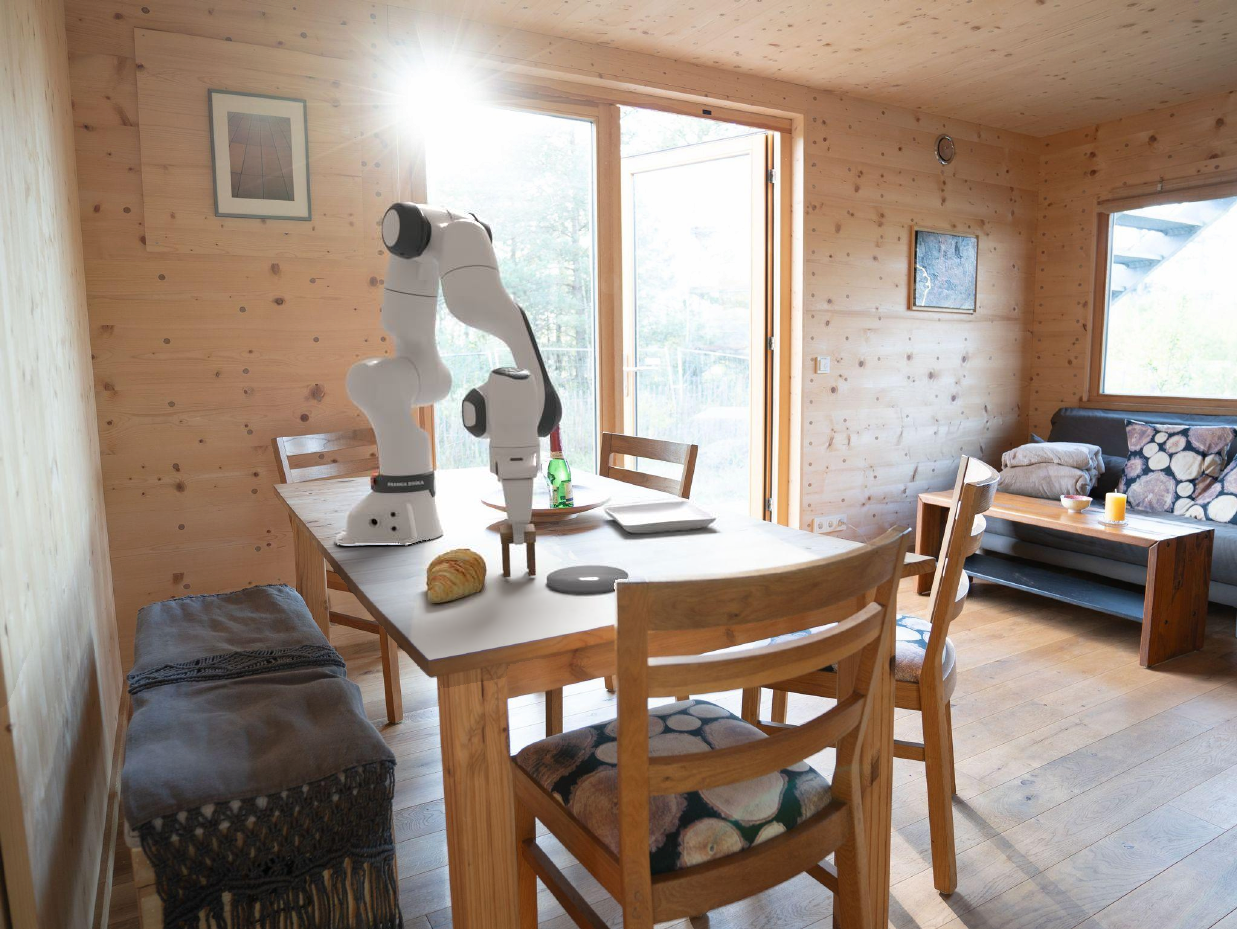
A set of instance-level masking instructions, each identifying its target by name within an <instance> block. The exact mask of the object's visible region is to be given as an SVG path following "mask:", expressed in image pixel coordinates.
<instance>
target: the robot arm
mask: <svg viewBox="0 0 1237 929" xmlns="http://www.w3.org/2000/svg"><path fill="white" fill-rule="evenodd" d="M381 238H382V239H381V240H382V242H383V244H384V246H385V248H386V249H387V251H388V253H390V255H389V258H388V262H387V267H386V271H385V277H384V285H383V292H382V294H383V295H382V300H381V301H382V302H381V311H380V319H379V320H380V326H381V328H382V330H383V331H384V332H385V333H386V334H387V335H388V336H390V337H391V339H392V342H393V344H394V356H390V357H389V356H388V357H387V356H386V357H372V358H368V359H365V360H364V359H363V360H361V361H358V362H355V363H354V364H352V366H350V368H349V370H348V372H347V373H346V377H345V391H346V393H347V396H348V398H349V400H350V402H351V403H352V404H353V405H354V406H356V407H358V409H360V410H361V411H362V412H363V414H365V416H366V417H367V419H368V421H369V423H370V425H371V427H372V431H373V432H374V436H375V440H376V445H377V446H376V447H377V453H378V464H379V473H375V472H374V473H373V474H371V476H370V478H369V480H370V490H371V492H370V493H369V494H367V495H366V496H365V497H364V498H363V499H361V500H360V501H359V502H358V503H357V504H356V505H355V506H353V507H352V508H351V509H350V511H349V512H348V514H347V517H346V522H345V523H346V524H345V530H344V531H342V532H340V533H338V534H337V535H336V536H335V543H336V542H337V543H340V544H355V543H398V544H399V543H400V544H406V543H414V542H418V541H421V540H426V541H428V540H429V539H430V540H433V539H434V540H435V539H437V538H439V537H440V536H442V535H443V534H444V531H443V528H442V524H441V522H440V519H439V513H438V510H437V508H438V507H437V504H436V495H437V494H436V493H437V484H436V476H435V471H434V470H433V460H432V459H433V458H432V442H431V436H430V435H429V433H428V432H427V431H426V430H425V429H424V428H422V427H420V425H418V423H417V421H416V420H415V417H414V415H413V410H412V408H421V407H428V406H431V405H433V404H437V403H439V402H441V401H444V400H445V399H446V398H448V395H449V394H450V393H451V389H452V385H453V383H452V380H453V379H452V375H451V372H450V371H451V370H450V369H449V367H448V366H447V365H446V363H445V362H444V361H443V360H442V358H441V356H440V353H439V350H438V345H437V341H436V324H437V322H436V321H437V320H436V319H437V312H438V311H437V310H438V302H439V300H438V299H439V291H440V286H441V292H442V296H443V299H444V303H445V306H446V307H447V310H448V312H450V314H451V316H452V317H454V318H455V319H456V320H458V322H460V323H462V324H464V325H466V326H468V327H470V328H472V329H473V328H474V329H477V330H479V331H482V332H485V333H487V334H489V335H492V336H493V337H496V338H498V339H499V340H500V341H502V342H503V343H504V344H506V346H507V347H508V348H509V350H510V352H511V354H512V357H513V361H514V363H515V365H516V367H513V366H512V367H511V366H510V367H509V366H508V367H507V366H503V367H498V368H494V369H492V370H491V371H490V372H489V374H488V379H487V381H486V382H485V383H483V384H481V385H480V386H478V387H473V388H472V389H470V390H469V391H468V392H467V394H465V396H464V397H463V399H462V402H461V419H462V425H463V428H465V430H466V431H468V433H469V434H471V435H472V436H473V437H475V438H477V439H478V438H479V439H484V440H486V439H489V444H488V451H489V453H488V454H489V455H488V457H489V458H488V459H489V472H490V473H491V474H494V475H495V476H496V477H497V482H499V483H500V484H501V487H502V492H503V498H504V504H505V510H506V517H507V521H508V523H509V524H508V525H512V528H513V541H514V545H518V546H519V545H520V546H521V545H524V544H525V543H524V529H525V524H530V522H531V518H532V512H533V510H532V509H533V500H534V499H533V498H534V483H535V482H534V480H535V478H537V477H538V476H537V475H538V472H541V470H542V469H541V464H542V463H541V441H540V438H546V437H548V436H549V435H551V434H552V433H553V432H554V431H555V429H557V428H558V426H559V424H560V422H561V421H562V417H563V407H562V402H561V399H560V395H559V394H558V392H557V390H556V389H555V387H554V386H555V385H553V383H552V381H551V379H550V377H549V374H548V370H547V369H546V365H545V362H544V359H543V357H542V354H541V351H540V348H539V345H538V343H537V340H536V337H535V334H534V331H533V329H532V326H531V324H530V321H529V319H528V316H527V314H526V312H525V310H524V308H523V306H521V305H520V304H518V303H517V302H515V301H514V300H513V298H512V297H511V296H510V295H509V293H508V291H507V289H506V288H505V286H504V284H503V281H502V279H501V274H500V268H499V264H498V260H497V257H496V252H495V250H494V247H493V233H492V229H491V226H490V224H489V223H488V221H487V220H485V218H483V217H481V216H479V215H478V214H475V213H472V212H467V213H466V212H464V211H462V210H459V209H455V208H451V207H447V206H442V205H441V206H440V205H439V206H436V205H429V204H416V203H414V202H410V201H403V202H401V201H399V202H395V203H392V205H390V206H389V207H388V209H387V210H386V212H385V213H384V216H383V218H382V223H381ZM421 542H422V541H421ZM418 543H419V542H418Z"/></svg>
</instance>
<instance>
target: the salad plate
mask: <svg viewBox="0 0 1237 929" xmlns="http://www.w3.org/2000/svg"><path fill="white" fill-rule="evenodd" d="M603 511H604V512H605V514H606V515H608V517H610V518H611V519H612V520H614V521H615V522H616V523H618V524H619V525H620V526H621V527H622V528H623V529H624V530H625V531H626V532H629V533H632V534H636V533H637V534H639V535H641V533H644V534H653V533H654V534H656V532H657V533H666V532H665V531H670V532H678V531H677V530H682V531H690V529H693V530H697V528H698V529H701V528H706V527H707V526H710V525H711V524H713V523H714V522H715V521H716V520H717V517H716V516H715V515H713V514H711V513H710V512H709V511H706V510H705V509H702V508H701V507H699V506H697V505H696V504H694V503H693V502H690V501H688V500H679V501H678V500H677V501H663V502H651V503H638V504H630V505H629V504H627V505H620V506H608V507H607V506H606V507H603ZM637 534H636V535H637Z"/></svg>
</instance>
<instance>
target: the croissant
mask: <svg viewBox="0 0 1237 929" xmlns="http://www.w3.org/2000/svg"><path fill="white" fill-rule="evenodd" d="M486 563H487V562H486V561H485V559H484V558H483V557H482V555H481V554H479V553H477V552H475V551H472V550H471V549H470V548H456V549H450V551H446V552H445V553H442V554H440V555H437V557H435V558H434V559H432V561H431V562H430V564H429V565H428V567H427V568H426V582H425V584H426V587H427V588H426V589H427V593H426V594H427V598H428V601H429V602H430V603H431V604H439V603H440V604H441V603H445V602H451V601H455V600H457V599H461V598H465V597H468V596H470V594H471V595H473V594H475V593H478V592H480V591H481V589H482V587H483V585H484V583H485V581H486V577H487V565H486ZM474 592H475V593H474ZM467 595H468V596H467Z"/></svg>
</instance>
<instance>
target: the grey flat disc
mask: <svg viewBox="0 0 1237 929" xmlns="http://www.w3.org/2000/svg"><path fill="white" fill-rule="evenodd" d="M627 578H628V579H629V573H628V572H627V571H626V570H624V569H621V568H618V567H613V566H610V565H609V566H608V565H593V564H592V565H574V566H568V567H563V568H560V569H556V570H554V571H552V572H550V573H548V575H546V586H547V587H548V588H550V589H551V590H553V591H556V592H560V593H565V594H572V595H573V594H577V595H591V594H603V593H607V592H608V593H609V592H612V591H615V589H614V583H615V580H618V579H627Z"/></svg>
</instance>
